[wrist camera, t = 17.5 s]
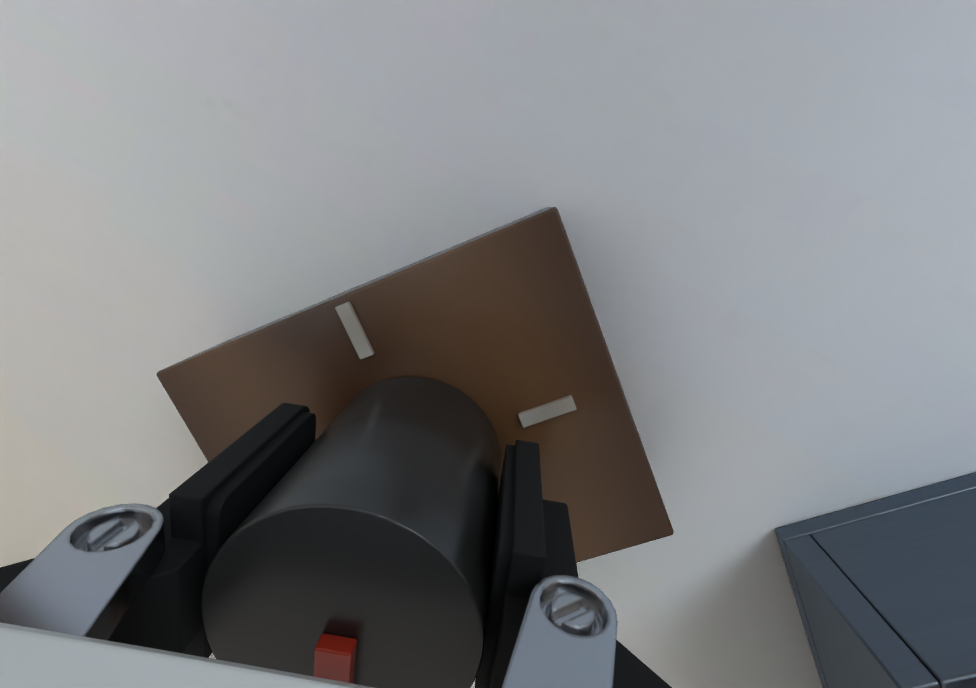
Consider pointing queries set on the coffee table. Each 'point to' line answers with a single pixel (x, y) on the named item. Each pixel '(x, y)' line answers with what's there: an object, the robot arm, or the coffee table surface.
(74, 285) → the coffee table surface
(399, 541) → the tap knob
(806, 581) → the grey open box
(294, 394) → the rotary dial switch
